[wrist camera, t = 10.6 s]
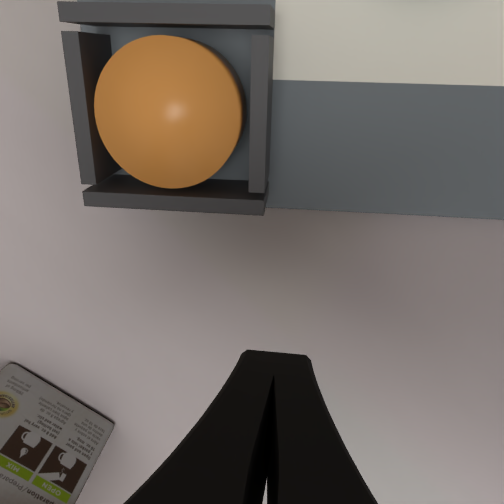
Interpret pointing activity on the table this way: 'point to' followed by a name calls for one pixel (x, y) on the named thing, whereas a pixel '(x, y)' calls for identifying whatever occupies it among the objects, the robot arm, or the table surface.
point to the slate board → (319, 103)
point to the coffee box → (45, 441)
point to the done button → (169, 110)
